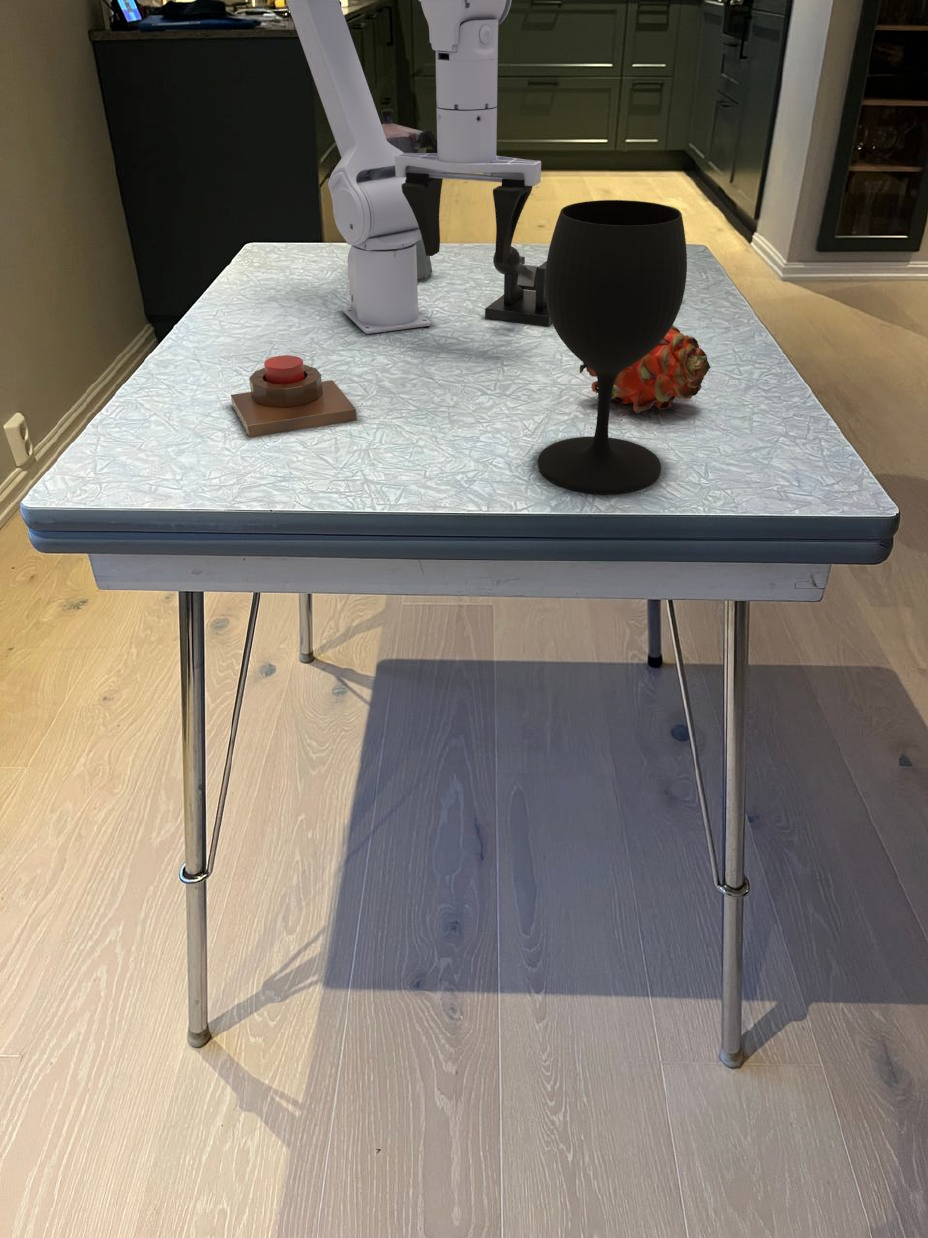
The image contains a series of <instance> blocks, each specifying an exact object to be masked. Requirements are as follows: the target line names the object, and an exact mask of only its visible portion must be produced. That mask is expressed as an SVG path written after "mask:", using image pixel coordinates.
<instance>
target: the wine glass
mask: <svg viewBox="0 0 928 1238" xmlns="http://www.w3.org/2000/svg"><path fill="white" fill-rule="evenodd" d="M669 206H670V205H665V204H661V203H657V202H656V203H655V202H649V201H641V200H627V199H601V200H600V199H598V200H587V201H580V202H575V203H572V204H568V205H565V206H563V207H562V208H561V209H560V211H559V214H558V217H557V219H556V223H555V226H554V228H553V229H554V230H553V232H552V236H551V240H550V244H549V248H548V253H547V258H546V261H547V263H546V272H545V296H546V303H547V308H548V312H549V315H550V318H551V321H552V323H551V325H552V326H553V328H554V330H555V332H556V335H558V337H559V338H560V340H561V341H562V342H563V344H564V345H565V346H566V348H568V350H569V351H570V352H571V353H572V354H573V355H574V356H575V357H576V358H577V359H579V360H580V361H581V362H582V363H585V364H586V365H587V366H588V367H590V368H591V369H592V370H593V371H594V372H595V373H596V376H597V377H596V379H597V380H596V381H598V393H597V412H596V413H597V414H596V422H595V423H596V424H595V431H594V436H577V437H571V438H566V439H562V440H559V441H556V442H554V443H551V444H550V445H548V446H546V447H545V448H544V449H543V450H542V451H541V452H539V455H538V457H537V468H538V470H539V472H540V473H541V474H542V475H543V477H544V478H546V479H547V480H548V481H550V482H551V483H553V484H556V485H558V486H560V487H562V488H565V489H568V490H570V491H571V490H572V491H576V492H581V493H586V494H587V493H588V494H596V495H597V494H598V495H616V494H624V493H630V492H635V491H639V490H641V489H644V488H646V487H648V486H650V485H652V484H653V483H655V481H657V480H658V478H659V477H660V475H661V473H662V463H661V461H660V459H659V457H658V456H657V454H656V453H654V452H653V451H651V450H650V449H648V447H647V448H646V447H645V446H643V445H641V444H638V443H636V442H633V441H630V440H626V439H621V438H616V437H609V424H610V423H609V422H610V411H611V410H610V409H611V403H612V402H611V401H612V398H611V396H612V391H613V386H614V382H615V379H616V377H617V375H618V374H619V373H620V372H621V371H623V370H624V369H626V368H628V367H630V366H631V365H633V364H634V363H636V362H637V361H639V360H640V359H642V358H643V357H645V356H646V355H647V354H648V353H649V352H651V351H652V350H653V349H654V348H655V347H656V346H657V345H658V344H659V343H660V342H661V341H662V339H663V338H664V337H665V336H666V334H667V333H668V332H669V330H670V329H671V327H672V325H673V326H674V323H675V321H676V319H677V317H678V314H679V312H680V309H681V306H682V304H683V300H684V295H685V291H686V283H687V273H688V253H687V240H686V239H687V238H686V232H685V226H684V219H683V214H682V212H681V210H679V209H678V208H677V209H678V210H679V211H678V210H677V209H675V208H676V207H674V208H672V207H673V206H670V207H669Z"/></svg>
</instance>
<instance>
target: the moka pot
mask: <svg viewBox="0 0 928 1238" xmlns="http://www.w3.org/2000/svg"><path fill="white" fill-rule="evenodd" d="M380 113H381V117H382V122H383V123H381V125H382V128H383V131H384V134H385V137H386V140H387V142H388V143H390V144H391V145H393V146H394V147H396V148H397V149H399V150H400V151H402V152H403V153H427V148H428V147H430V148H431V149H432V150H433V151H434V152H433V153H437V138H435V134H433V129H427V130H424V131H423V130H420V129H415V128H411V127H409V126H404V125H400V124H397V123H394V122H393V120H394V110H393V109H391V108H384V109H382V110H381V111H380ZM416 258H417V280H421V279H426V278H427V277H429V276H430V275H431V274H432V272H433V267H432V266H433V265H432V261H431V256H426V252H425V248H424V243H423V239H422V236H421V240H420V241H417V242H416Z"/></svg>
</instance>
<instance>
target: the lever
mask: <svg viewBox="0 0 928 1238" xmlns="http://www.w3.org/2000/svg"><path fill="white" fill-rule="evenodd" d="M520 256H521V255H520V252H519V250H518V249H517V248H515V247H514V246H512V245H511V248H510V253H509V259H507V260H506V261H505V262H503V263H498V262H496V255H495V253H494V255H493V259H492V262H493V266H494V269H495V270H496V271H497V272H498V273H500V274H502V275H504V274H505V275H508V274H512V273H514V274H516V275H517V276H518V279H517V285H518V286H519V287H521V288H522V289H523V290H528V291H536V277H537V268H538V267H539V266H538V265H534V264H526V263H525V264H522V263H520Z"/></svg>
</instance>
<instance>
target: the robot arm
mask: <svg viewBox="0 0 928 1238" xmlns="http://www.w3.org/2000/svg"><path fill="white" fill-rule="evenodd" d="M512 1H513V0H418V2H420V5H421V9H422V12H423V15H424V17H425V20H426V21H427V25H428V35H429V44H431V49H432V51H435V87H436V88H435V95H436V97H435V98H436V102H435V103H436V140H437V153H435V152H431V153H429V152H426V153H403V152H402V151H400V150H399V149H397V148H396V147H394V146H393V145H391V144H390V143H388V142H387V140H386V137H385V134H384V131H383V128H382V125H381V124H382V123H381V120H380V117H379V114H378V110H377V108H376V104H375V102H374V99H373V96H372V93H371V91H370V88H369V85H368V82H367V78H366V76H365V73H364V70H363V67H362V63H361V61H360V58H359V55H358V53H357V52H358V51H357V50H356V47H355V43H354V41H353V38H352V35H351V32H350V29H349V25H348V23H347V20H346V17H345V15H344V12H343V9H342V6H341V3H340V0H285V2H286V4H287V7H288V10H289V12H290V16H291V18H292V21H293V24H294V27H295V30H296V33H297V36H298V38H299V41H300V44H301V47H302V50H303V52H304V56H305V58H306V61H307V64H308V67H309V69H310V74H311V75H312V78H313V81H314V85H315V87H316V90H317V93H318V94H319V99H320V101H321V104H322V106H323V109H324V113H325V115H326V118H327V121H328V124H329V126H330V129H331V132H332V135H333V138H334V141H335V143H336V147H337V149H338V152H339V155H340V160H339V161H338V163H337V164H336V166H335V167H334V169H333V170H332V172H331V174H330V177H329V179H328V182H327V188H328V190H329V193H330V197H331V202H332V214H333V219H334V222H335V226H336V228H337V230H338V233H339V234H340V235H341V236H342V238H343V239H344V240H345V243H346V245H350V248H349V251H348V253H347V271H348V286H349V300H350V302H349V303H350V306H346V307H343V308H342V311H343V313H344V314H345V315H346V316H347V317H348V318H349V319H350V320H351V321H352V322H353V323H354V324H355V325H356V326H357V327H358V328H359V329H360V330H361V331H362V332H363V333H364V334H368V335H369V334H377V333H378V334H379V333H385V332H394V331H400V330H407V329H408V330H409V329H417V328H423V327H430V326H431V321H430V320H429V319H428V318H426V316H424V315H423V314H422V313H421V312H420V311H419V291H418V279H417V258H416V242H417V241H420V240H421V236H422V239H423V243H424V248H425V252H426V256H430V257H433V256H435V255H437V254H438V253H440V247H441V230H440V229H441V228H440V210H441V209H440V208H441V195H442V187H443V181H444V179H445V180H457V181H458V180H461V181H473V182H474V181H475V182H488V183H489V182H490V183H501V185H498V186H496V187H495V188H493V189H492V196H493V198H492V199H493V204H494V212H495V213H494V214H495V228H496V229H495V230H496V231H495V251H494V254H495V255H496V262H498V263H503V262H505V261H506V260H507V259H509V253H510V248H511V246H512V243H513V238H514V235H515V232H516V228H517V225H518V222H519V220H520V217H521V214H522V212H523V210H524V208H525V205H526V203H527V201H528V199H529V197H530V195H531V193H532V190H533V187H535V186H537V185H538V184H540V183H541V182H542V181H541V180H542V178H541V177H542V161H541V160H533V159H524V158H517V157H510V156H509V157H508V156H500V155H497V145H498V144H497V141H498V140H497V138H498V137H497V135H498V134H497V133H498V71H499V70H498V66H499V64H498V63H499V58H498V57H499V50H498V49H499V25H500V24H502V23H503V22H504V20H505V18H506V17H507V16H508V14H509V12H510V9H511V7H512Z"/></svg>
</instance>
